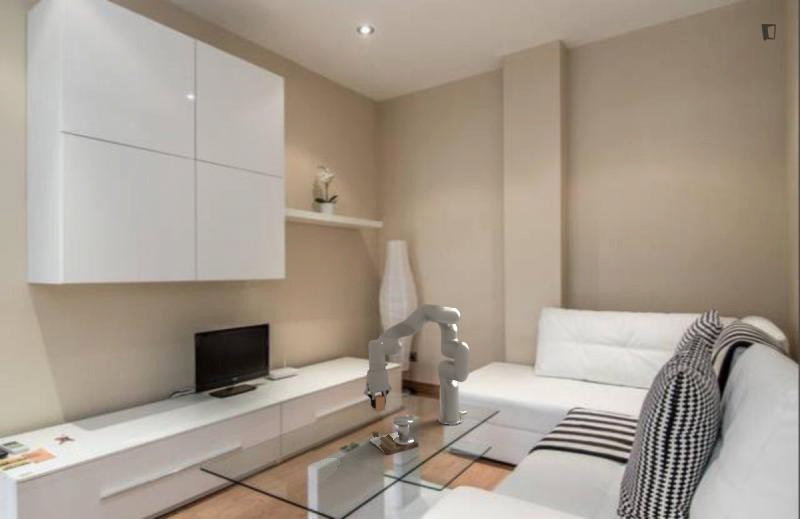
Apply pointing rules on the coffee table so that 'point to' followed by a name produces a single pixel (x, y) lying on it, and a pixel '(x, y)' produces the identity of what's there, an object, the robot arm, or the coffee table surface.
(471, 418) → the coffee table surface
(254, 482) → the coffee table surface
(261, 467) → the coffee table surface
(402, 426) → the bobbin
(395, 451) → the winding board
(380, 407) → the orange brown block
